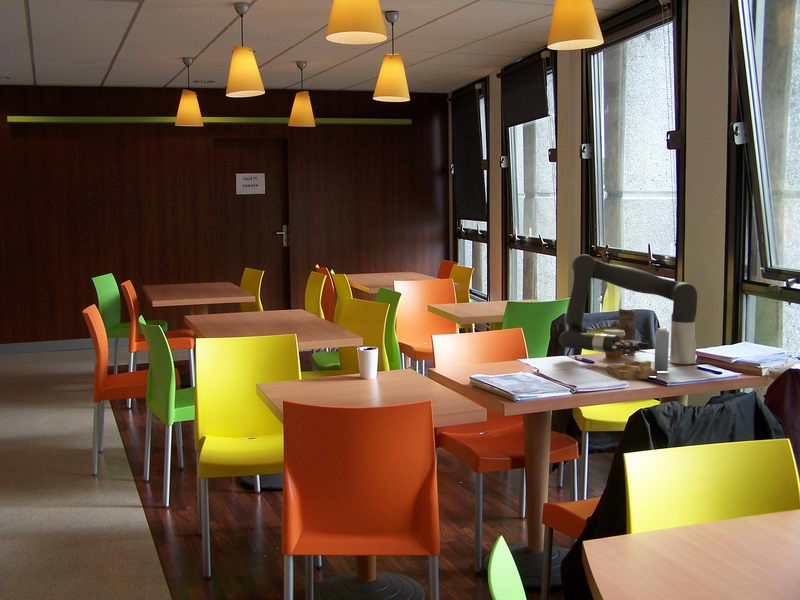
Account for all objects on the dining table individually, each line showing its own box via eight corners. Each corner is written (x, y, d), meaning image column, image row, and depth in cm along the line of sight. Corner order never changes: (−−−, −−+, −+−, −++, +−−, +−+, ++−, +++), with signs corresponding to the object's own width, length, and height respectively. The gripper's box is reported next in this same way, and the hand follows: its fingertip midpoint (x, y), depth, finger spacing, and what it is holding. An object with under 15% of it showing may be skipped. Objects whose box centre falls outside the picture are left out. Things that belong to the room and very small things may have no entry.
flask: (664, 371, 326) (665, 327, 324) (669, 373, 321) (671, 329, 319) (652, 371, 325) (653, 327, 324) (657, 373, 320) (659, 329, 319)
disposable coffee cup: (622, 356, 360) (623, 329, 359) (626, 360, 351) (627, 332, 350) (600, 356, 361) (601, 328, 360) (603, 359, 352) (604, 331, 351)
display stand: (642, 371, 325) (643, 356, 324) (659, 379, 310) (660, 363, 309) (604, 372, 323) (605, 357, 322) (619, 379, 308) (620, 363, 307)
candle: (614, 353, 369) (615, 308, 367) (627, 352, 372) (629, 307, 370) (625, 355, 362) (626, 310, 360) (638, 354, 365) (640, 309, 363)
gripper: (598, 336, 332) (636, 340, 321) (614, 332, 343) (652, 336, 332) (597, 354, 333) (635, 359, 322) (614, 350, 343) (651, 354, 333)
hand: (644, 347), depth 327 cm, fingers open, 8 cm apart
